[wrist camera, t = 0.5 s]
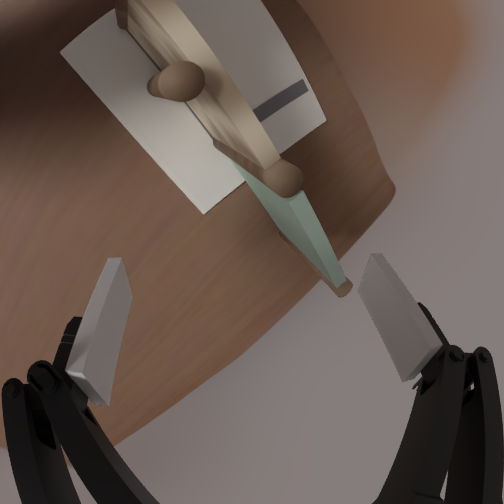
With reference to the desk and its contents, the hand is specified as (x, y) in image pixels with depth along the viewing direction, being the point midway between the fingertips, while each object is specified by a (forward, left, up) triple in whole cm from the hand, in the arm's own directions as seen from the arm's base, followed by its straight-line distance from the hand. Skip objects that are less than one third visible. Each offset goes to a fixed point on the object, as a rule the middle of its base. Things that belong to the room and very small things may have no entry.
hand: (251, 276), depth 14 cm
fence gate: (+7, +5, -14) cm, 17 cm away
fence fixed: (-8, +4, -15) cm, 18 cm away
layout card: (-7, +7, -15) cm, 18 cm away
